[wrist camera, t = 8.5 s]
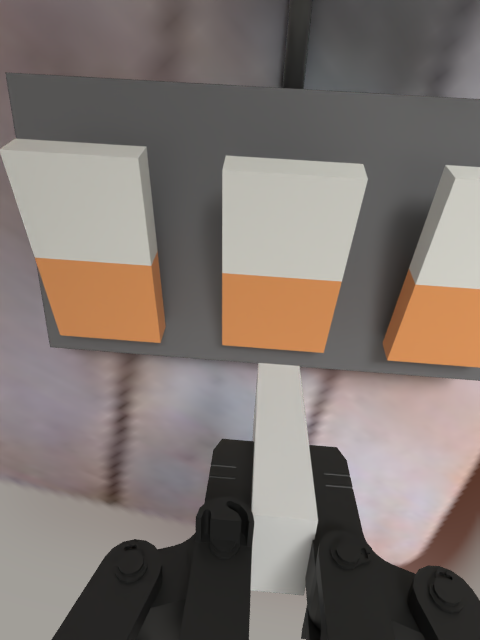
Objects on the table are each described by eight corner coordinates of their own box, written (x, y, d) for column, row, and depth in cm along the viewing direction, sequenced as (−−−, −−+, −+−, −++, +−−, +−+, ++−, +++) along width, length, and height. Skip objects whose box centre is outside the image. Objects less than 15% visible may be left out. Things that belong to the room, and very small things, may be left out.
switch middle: (227, 146, 16) (222, 169, 15) (360, 154, 16) (367, 179, 14) (225, 317, 22) (222, 345, 21) (321, 324, 22) (323, 353, 21)
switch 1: (24, 131, 17) (-2, 149, 15) (151, 139, 16) (138, 158, 15) (75, 309, 22) (60, 335, 21) (168, 316, 22) (160, 343, 21)
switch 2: (439, 157, 16) (455, 177, 15) (574, 165, 16) (605, 187, 14) (379, 332, 22) (386, 360, 20) (478, 339, 22) (492, 368, 20)
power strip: (21, -158, 17) (-44, -229, 14) (621, -135, 17) (719, -205, 13) (79, 316, 27) (50, 347, 23) (465, 345, 26) (497, 382, 22)
